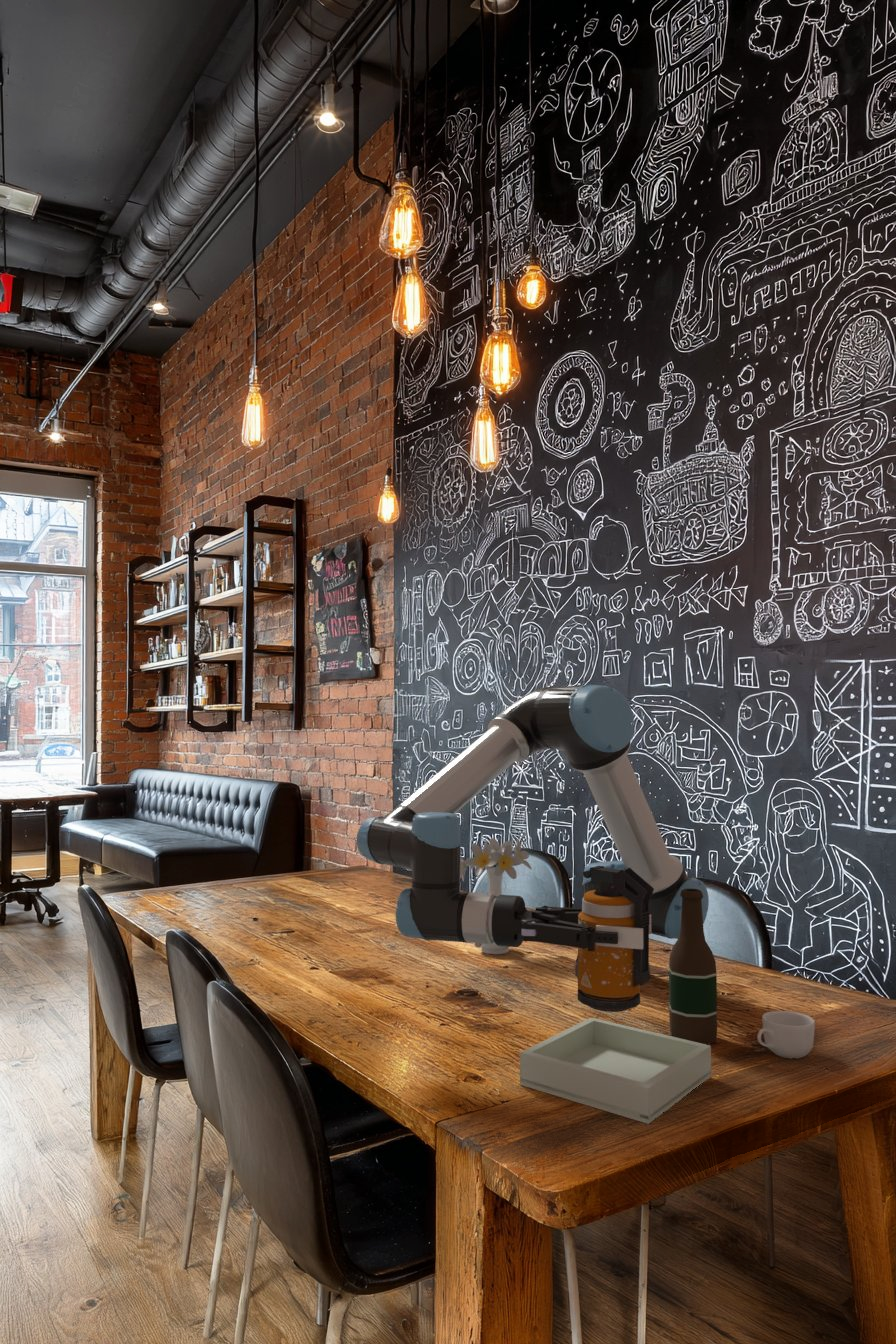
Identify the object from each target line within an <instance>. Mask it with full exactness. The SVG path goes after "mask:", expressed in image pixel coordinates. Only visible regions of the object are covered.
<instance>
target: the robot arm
mask: <svg viewBox="0 0 896 1344" xmlns="http://www.w3.org/2000/svg"><path fill="white" fill-rule="evenodd" d="M634 718H635V717H634V714H633V710H632V707H631V705H630V703H629V701H628V699H626V697H625V696H624V695H623V694H622V693H621V692H620V691H618V690H617V689H615V688H614V687H610V686H608V685H599V684H594V683H593V684H591V683H589V684H583V685H570V686H569V685H568V686H545V687H541V688H537V689H535V690H533V691H531V692H529V693H526V694H525V695H524V696H522V697H520V698H519V699H517V700H515V701H514V702H512V703H511V704H510V705H509V706H507V707H506V708H505V709H503V710H502V711H500V712H499V713H498V714H497V715H495V717H494V718H492V719H491V720H490V721H489V722H488V725H487V730H486V731H485V732H484V733H483V734H482V735H481V736H479V737H478V738H477V739H476V740H474V741H473V742H472V743H471V744H470V745H469V746H467V747H466V748H465V749H464V750H462V752H461V753H459V754H458V755H457V756H456V757H455V758H453V759H452V760H451V761H449V763H447V764H446V765H445V766H444V767H442V768H441V769H440V770H439V771H438V772H436V773H435V774H434V775H433V776H432V777H431V778H429V779H428V780H427V781H426V782H425V783H423V784H422V785H421V786H420V787H419V788H418V789H417V790H415V791H414V792H413V793H411V794H410V795H409V796H408V797H406V799H404V800H403V801H402V802H401V803H400V804H399V805H398V806H396V807H395V808H394V809H393V810H392V811H390V812H389V813H388V814H386V815H385V816H381V815H380V816H379V815H378V816H372V817H370V818H367V819H365V820H364V821H363V822H362V823H361V824H360V826H359V828H358V830H357V834H356V847H357V849H358V852H359V853H360V854H361V856H362V857H363V858H365V859H366V860H369V861H371V862H374V863H376V864H379V865H386V866H387V865H388V866H393V867H396V868H397V867H398V868H402V869H405V870H411V887H410V888H405V889H403V890H402V891H401V892H400V894H399V895H398V897H397V900H396V903H397V904H396V905H397V906H396V909H395V923H396V924H395V925H396V926H397V929H398V931H399V932H400V934H401V935H402V936H404V937H407V938H408V937H409V938H414V939H420V940H424V941H438V942H439V941H441V942H443V941H444V942H453V943H454V942H455V943H456V942H457V943H466V944H467V943H468V944H474V947H476V948H480V947H481V944H488V945H491V944H493V943H494V942H495V944H496V945H497V946H507V947H509V948H519V947H520V946H521V945H522V944H523V942H525V943H526V942H536V943H542V944H548V945H549V944H550V945H551V944H552V945H557V946H564V947H570V948H571V947H572V948H577V949H578V948H582V949H586V948H588V951H595V943H596V946H608V947H620V948H632V949H643V928H631V927H618V926H604V925H596V930H595V927H592V926H586V925H581V924H578V915H579V913H581V912H582V907H559V906H558V907H557V906H550V905H542V906H541V907H538V906H537V907H535V909H534V910H528V909H527V908H526V902H525V900H524V898H523V897H522V896H520V895H512V894H502V895H499V896H498V897H497V896H496V895H495V894H490V893H489V892H488V893H485V892H464V891H461V879H460V857H461V852H462V851H461V850H462V849H461V847H462V846H461V844H462V837H461V826H460V825H461V823H460V818H459V816H457V815H456V814H457V813H458V812H459V811H460V810H461V809H462V808H464V807H465V806H466V805H467V804H468V803H469V802H470V801H471V800H473V799H474V798H475V797H476V796H477V795H478V794H479V793H480V792H482V791H483V790H484V789H485V788H486V787H487V786H489V785H490V784H491V783H492V782H493V781H494V780H495V779H496V778H497V777H499V776H500V775H501V774H502V773H503V772H505V771H506V770H507V769H508V768H509V767H510V766H511V765H512V764H514V763H515V762H516V763H521V762H524V761H525V760H526V759H527V758H529V757H530V756H531V755H532V754H534V753H537V752H540V751H543V750H562V751H564V754H565V756H566V759H567V761H568V763H569V765H570V767H571V768H572V769H573V770H574V771H577V772H580V773H583V775H584V778H585V780H586V782H587V784H588V787H589V789H590V791H591V794H592V796H593V798H594V800H595V802H596V804H597V806H598V809H599V811H600V814H601V816H602V819H603V820H604V822H605V825H606V827H607V829H608V831H609V833H610V836H611V838H612V841H613V842H614V845H615V847H616V849H617V851H618V854H619V856H620V859H621V860H620V859H619V860H608V861H599V862H591V863H589V864H587V865H586V866H585V867H584V870H583V872H584V871H588V870H590V868H591V867H594V866H598V865H599V866H604V867H605V868H612V869H619V870H626V869H628V868H631V869H632V870H633V871H634V872H635V873H637V874H638V875H639V876H640V877H641V878H642V879H644V880H645V881H646V882H647V883H648V884H649V885H651V886H652V887H653V888H654V891H653V893H652V896H651V899H650V902H649V911H650V913H649V914H650V916H649V917H650V919H649V920H650V921H649V923H650V924H649V935H656V936H660V937H664V938H668V939H670V940H673V939H675V940H678V939H679V935H680V929H681V910H682V897H681V896H680V894H681V890H683V889H687V888H688V889H698V890H701V892H702V894H703V898H702V899H701V901H702V915H703V925H704V924H705V922H706V920H707V919H706V918H707V916H708V911H709V901H710V899H709V893H708V889H707V887H706V885H705V883H704V882H703V881H702V880H700V879H698V878H697V877H689V876H688V874H687V872H686V869H685V868H684V866H683V863H682V861H681V860H680V859H679V858H678V857H676V856H675V855H671V854H670V853H669V850H668V848H667V846H666V844H665V841H664V839H663V837H662V834H661V832H660V830H659V827H658V825H657V823H656V820H655V817H654V815H653V813H652V811H651V808H650V806H649V804H648V802H647V799H646V797H645V794H644V792H643V790H642V787H641V785H640V782H639V781H638V778H637V775H636V773H635V771H634V769H633V766H632V763H631V762H630V759H629V757H628V753H629V751H630V749H631V745H632V744H631V740H632V738H633V734H634V732H635V730H634V729H635V728H634V726H633V725H632V723H634V722H635V720H634ZM582 880H583V881H582V898H583V897H584V894H585V893H586V892H588V891H592V890H596V887H597V886H599V885H597V884H591V878H585V877H584V876H583V879H582ZM481 948H482V947H481ZM576 956H577V957H576V958H575V962H574V975H575V977H577V978H578V955H576ZM650 964H651V963H649V972H650V973H651V965H650ZM650 980H651V979H649V980H647V981H645V982H643V983H642V984H645V983H646V982H648V981H650Z"/></svg>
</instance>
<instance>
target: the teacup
mask: <svg viewBox="0 0 896 1344" xmlns="http://www.w3.org/2000/svg"><path fill="white" fill-rule="evenodd" d="M761 1019H762V1020H761V1021H762V1028H761V1029H759V1030H758V1032H757V1042H758V1043H759V1044H760V1045H761V1046H763V1047H766V1048H768V1049H769V1050H770V1051H771V1052H773V1053H774V1054H775V1055H776V1056H779V1057H780V1058H785V1059H792V1058H796V1059H801V1057H802V1058H803V1057H805V1056H807V1055H808V1054H810V1053H811V1051H812V1049H813V1047H814V1042H815V1028H816V1023H815V1022H816V1021H815V1019H814V1018H813V1017H811V1016H810V1015H807V1014H804V1013H801V1012H796V1011H790V1010H775V1011H774V1010H772V1011H767V1012H765V1013H763V1014H762V1015H761ZM762 1034H763V1038H764V1042H763V1041H762Z"/></svg>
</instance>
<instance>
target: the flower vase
mask: <svg viewBox="0 0 896 1344" xmlns="http://www.w3.org/2000/svg"><path fill="white" fill-rule="evenodd" d="M487 843H488V841H487V840H486V841H485V842H484V845H483V848H481V847H480V846H479V844H476V843H474V844H471V852H472V854H473V856H474V857H469V858H467V859H466V860H464V859H463V858H462V857H461V856H460V880H461V879H462V882H463V883H464V882H465V875H466V870H467V867H469V870H472V869H473V868H475V869H474V873H475V876H476V877H479V876H481V874H482V873H483V871H484V869H485V871H486V874H487V881H488V893H490V894H495V895H496V896H497V897H498V896H499V895H503V891H502V890H503V888H502V887H503V886H502V885H503V877H504V876H503V875H504V872H506V874H507V875H508V877H509V878H510V879H513V880H515V879H517V875H518V874H517V870H516V869H515V867H516V866H520V865H524V866H525V867H527V868H528V869H530V870H533V869H532V866H531V865H530V863H529V862H528V861H527V859H529V858H530V855H529V853H528V851H526V850H522V844H521V841H520V839H519V838H517V839H516V842H515V843H514V849H513V846H512V844H513V843H512V841H511V840H506V841H504V842H503V843H502V844H501V846H500V843H499V842H498V841H497V839H496V838H493V837H492V838H490V839H489V844H487ZM481 951H482V953H484V954H486V955H493V956H494V955H496V956H497V955H498V956H499V955H504V954H507V953H509V952H510V947H507V946H497V945H496V944H495V942H494V943H493V944H491V945H488V944H481Z"/></svg>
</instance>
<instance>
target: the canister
mask: <svg viewBox="0 0 896 1344" xmlns="http://www.w3.org/2000/svg"><path fill="white" fill-rule="evenodd" d="M582 876H583V877H585V878H591V884H597V885H599V886H597V887H596V890H592V891H588V892H586V893H585V894H584V897H583V896H582V898H581V902H582V903H581V908H582V912H581V913H579V915H578V924H581V925H586V926H592V927H595V930H596V925H604V926H618V927H631V928H643V949H632V948H620V947H608V946H596V943H595V951H588V948H586V949H582V948H577V956H578V977H577V1000H578V1001H579V1003H581V1004H583V1005H585V1006H587V1007H589V1008H590V1009H593V1010H597V1011H598V1012H599V1011H600V1012H608V1013H620V1012H624V1011H628V1010H630V1009H633V1008H636V1007H638V1006H639V1005H640V1003H641V993H640V991H641V984H644V983H646V982H645V981H647V980H648V981H650V980H652V979H653V977H652V974H651V971H650V972H649V964H650V960H649V957H650V954H649V953H650V948H649V947H650V945H649V944H650V934H649V924H650V923H649V921H650V920H649V919H650V917H649V916H650V914H649V913H650V911H649V902H650V899H651V896H652V893H653V891H654V888H653V887H652V886H651V885H649V884H648V883H647V882H646V881H645V880H644V879H642V878H641V877H640V876H639V875H638V874H637V873H635V872H634V871H633V870H632V869H631V868H628V869H626V870H619V869H612V868H605V867H604V866H599V865H598V866H594V867H591V868H590V870H588V871H584V870H583V871H582ZM649 979H650V980H649ZM648 981H647V982H648ZM643 982H644V983H643Z"/></svg>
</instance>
